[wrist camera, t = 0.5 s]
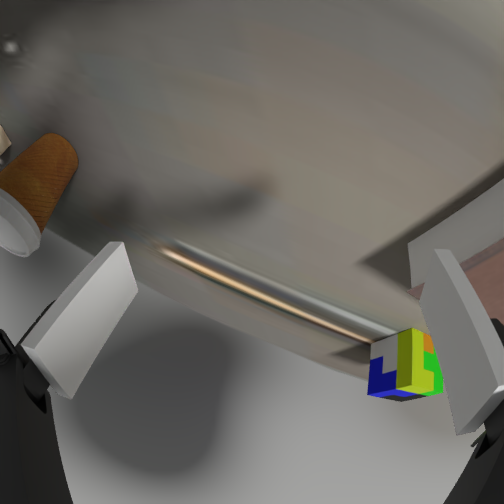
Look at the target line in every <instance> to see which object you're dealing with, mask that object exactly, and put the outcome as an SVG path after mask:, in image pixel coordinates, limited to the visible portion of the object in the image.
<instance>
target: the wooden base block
mask: <svg viewBox="0 0 504 504" xmlns="http://www.w3.org/2000/svg"><path fill="white" fill-rule="evenodd" d="M11 144H12V143H11V142H10V140H9V138H8V137H7V135H6V133H5V132H4V130H3V128H2V126H1V125H0V155H1V154H2V153H3V152H4V151H5V150H6V149H7V148H8V147H9V146H10V145H11Z"/></svg>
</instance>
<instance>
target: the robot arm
mask: <svg viewBox="0 0 504 504" xmlns="http://www.w3.org/2000/svg"><path fill="white" fill-rule="evenodd" d="M137 292H138V288H137V285H136V282H135V279H134V276H133V272H132V269H131V266H130V263H129V260H128V256H127V253H126V250H125V246H124V243H123V242H109V243H108V244H107V245H106V246H105V247H104V248H103V249H102V250H101V251H100V252H99V253H98V254H97V255H96V256H95V257H94V259H93V260H92V261H91V262H90V263H89V264H88V265H87V266H86V267H85V268H84V270H82V271H81V273H80V274H79V275H78V276H77V277H76V278H75V279H74V280H73V281H72V283H71V284H70V285H69V286H68V287H67V288H66V289H65V291H64V292H63V293H62V294H61V295H60V296H59V298H57V299H56V300H55V301H53V302H52V303H51V304H50V305H48V306H47V307H46V309H45V310H44V311H43V312H42V313H41V316H39V317H38V318H37V319H36V322H34V323H33V324H32V326H31V327H30V328H29V329H28V331H27V332H26V333H25V334H24V336H23V337H22V338H21V340H20V341H19V342H18V344H17V345H16V346H15V347H14V345H13V344H12V342H11V341H10V339H9V338H8V336H7V334H6V333H5V332H4V331H3V330H2V329H0V504H73V501H72V498H71V495H70V491H69V488H68V484H67V481H66V477H65V473H64V469H63V465H62V461H61V456H60V452H59V447H58V442H57V436H56V431H55V425H54V419H53V412H52V405H51V397H50V394H49V392H48V391H47V389H48V387H49V385H51V387H52V388H53V389H54V390H55V391H56V393H57V394H59V395H61V396H64V397H66V398H69V399H72V397H73V396H74V394H75V392H76V390H77V389H78V387H79V385H80V383H81V382H82V380H83V378H84V377H85V375H86V373H87V372H88V370H89V368H90V366H91V365H92V363H93V361H94V360H95V358H96V356H97V355H98V353H99V352H100V350H101V348H102V347H103V345H104V343H105V342H106V340H107V339H108V337H109V335H110V334H111V332H112V331H113V329H114V327H115V326H116V324H117V323H118V321H119V319H120V318H121V316H122V315H123V314H124V312H125V310H126V309H127V307H128V306H129V304H130V303H131V301H132V300H133V298H134V296H135V295H136V294H137ZM419 304H420V307H421V309H422V312H423V315H424V318H425V321H426V324H427V327H428V330H429V333H430V336H431V339H432V342H433V345H434V348H435V352H436V355H437V358H438V362H439V365H440V369H441V372H442V376H443V379H444V383H445V387H446V391H447V394H448V399H449V403H450V407H451V412H452V416H453V420H454V426H455V431H456V435H461V434H466V433H471V432H475V431H476V430H477V429H478V428H479V427H480V426H481V425H482V424H483V423H484V425H485V429H486V430H485V432H483V433H482V434H481V435H480V436H479V437H478V438H477V439H476V440H475V441H474V442H473V444H472V445H471V447H474V446H475V445H476V444H477V443H478V444H477V446H476V448H475V450H474V452H473V454H472V456H471V458H470V460H469V461H468V464H467V465H466V467H465V469H464V471H463V473H462V474H461V476H460V478H459V479H458V481H457V483H456V484H455V486H454V488H453V489H452V491H451V492H450V494H449V496H448V497H447V499H446V500H445V502H444V503H443V504H504V325H503V324H502V323H501V322H500V321H499V320H498V319H497V318H492V319H490V318H489V316H488V314H487V312H486V310H485V308H484V307H483V305H482V303H481V301H480V299H479V297H478V296H477V294H476V292H475V290H474V289H473V287H472V285H471V283H470V282H469V280H468V278H467V277H466V275H465V273H464V272H463V270H462V268H461V267H460V265H459V263H458V262H457V260H456V259H455V257H454V256H453V254H452V252H451V251H450V250H448V249H434V251H433V255H432V259H431V263H430V266H429V270H428V274H427V277H426V281H425V284H424V287H423V291H422V294H421V297H420V300H419Z"/></svg>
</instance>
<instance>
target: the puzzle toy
mask: <svg viewBox="0 0 504 504" xmlns="http://www.w3.org/2000/svg"><path fill="white" fill-rule="evenodd" d="M439 393H443V376H442V372H441V369H440V365H439V362H438V358H437V355H436V352H435V348H434V345H433V342H432V339H431V336H429V335H427V334H425V333H423V332H420V331H418V330H416V329H414V328H410V329H408V330H406V331H403V332H401V333H398V334H396V335H393V336H390V337H388V338H385V339H383V340H380V341H377V342H375V343H372V344H371V356H370V370H369V382H368V394H367V395H371V396H375V397H380V398H386V399H390V400H395V401H401V402H402V401H407V400H412V399H417V398H422V397H426V396H431V395H435V394H439Z"/></svg>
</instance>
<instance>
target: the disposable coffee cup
mask: <svg viewBox="0 0 504 504" xmlns="http://www.w3.org/2000/svg"><path fill="white" fill-rule="evenodd" d="M77 168H78V158H77V154H76V152H75V150H74V148H73V147H72V146H71V145H70V143H69V142H68V141H67V140H66V139H64V138H63V137H61V136H60V135H57V134H54V133H47V134H45V135H43V136H42V137H41V138H40V139H38V140H37V141H36V142H35V143H33V144H32V145H31V146H30V147H28V148H27V149H26V150H25V151H24V152H22V153H21V154H20V155H19V156H18V157H17V158H16V159H14V160H13V161H12V162H11V163H10V164H9V165H8V166H6V167H5V168H4V169H3V170H2V171H1V172H0V246H1V247H3V248H4V249H6V250H7V251H9V252H11V253H13V254H15V255H17V256H20V257H27V256H29V255H30V254H31V253H32V252H33V251H34V250H37V249H38V248H39V246H40V239H41V234H42V231H43V230H44V228H45V226H46V223H47V222H48V220H49V218H50V216H51V214H52V212H53V210H54V208H55V206H56V204H57V202H58V200H59V199H60V197H61V195H62V193H63V191H64V190H65V188H66V186H67V184H68V183H69V181H70V179H71V177H72V176H73V174H74V172H75V171H76V169H77Z"/></svg>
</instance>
